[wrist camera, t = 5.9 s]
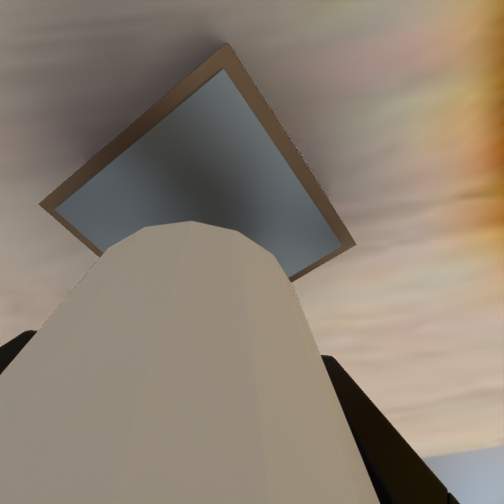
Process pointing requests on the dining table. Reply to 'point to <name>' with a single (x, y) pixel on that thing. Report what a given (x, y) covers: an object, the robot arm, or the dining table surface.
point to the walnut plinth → (205, 174)
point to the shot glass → (177, 385)
